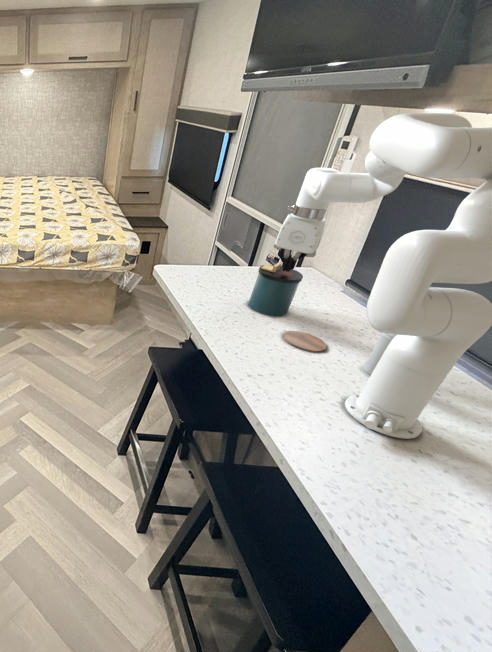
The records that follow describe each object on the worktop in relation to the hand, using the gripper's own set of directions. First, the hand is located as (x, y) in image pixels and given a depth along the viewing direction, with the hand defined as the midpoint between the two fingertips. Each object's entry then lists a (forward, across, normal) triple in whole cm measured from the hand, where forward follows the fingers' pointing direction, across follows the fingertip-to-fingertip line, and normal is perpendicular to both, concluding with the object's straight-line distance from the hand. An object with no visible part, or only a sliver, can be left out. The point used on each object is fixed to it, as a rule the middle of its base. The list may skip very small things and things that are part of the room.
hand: (286, 269), depth 124 cm
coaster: (+14, +13, -14) cm, 24 cm away
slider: (+1, -4, 0) cm, 4 cm away
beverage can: (+15, +29, -17) cm, 36 cm away
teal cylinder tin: (+14, -1, 0) cm, 14 cm away
